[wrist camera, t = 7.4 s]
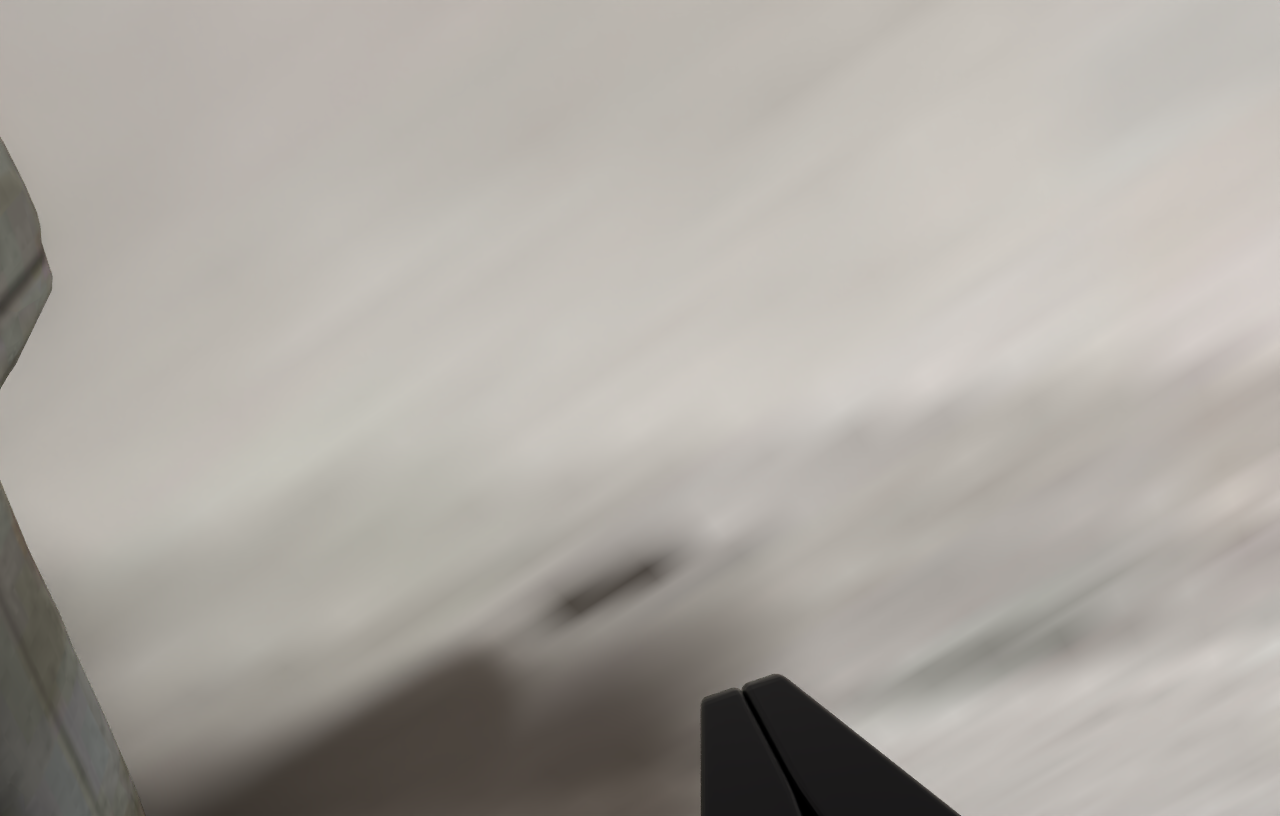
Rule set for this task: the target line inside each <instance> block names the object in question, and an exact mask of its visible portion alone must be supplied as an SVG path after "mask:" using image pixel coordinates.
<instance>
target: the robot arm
mask: <svg viewBox="0 0 1280 816" xmlns="http://www.w3.org/2000/svg"><path fill="white" fill-rule="evenodd" d="M701 816H961V815H959V814H958V813H957V812H956V811H954V810H953V809H952V808H951V807H949V806H948V805H947V804H946V803H944V802H943V801H942V800H940V799H939V798H938V797H937V796H935V795H934V794H933V793H932V792H930V791H929V790H928V789H927V788H925V787H924V786H923V785H921V784H920V783H919V782H918V781H916V780H915V779H914V778H913V777H911V776H910V775H909V774H908V773H906V772H905V771H904V770H903V769H901V768H900V767H899V766H897V765H896V764H895V763H894V762H892V761H891V760H890V759H889V758H887V757H886V756H885V755H884V754H882V753H881V752H880V751H878V750H877V749H876V748H875V747H873V746H872V745H871V744H870V743H868V742H867V741H866V740H865V739H863V738H862V737H861V736H859V735H858V734H857V733H856V732H854V731H853V730H852V729H851V728H849V727H848V726H847V725H846V724H844V723H843V722H842V721H840V720H839V719H838V718H837V717H835V716H834V715H833V714H832V713H830V712H829V711H828V710H827V709H825V708H824V707H823V706H821V705H820V704H819V703H818V702H816V701H815V700H814V699H813V698H811V697H810V696H809V695H808V694H806V693H805V692H804V691H802V690H801V689H800V688H799V687H797V686H796V685H795V684H794V683H792V682H791V681H790V680H789V679H787V678H786V677H784V676H782V675H779V674H772V675H769V676H766V677H763V678H760V679H757V680H754V681H751V682H748V683H746V684H745V685H744V686H743V687H742V691H741V690H740V689H738V688H731V689H728V690H725V691H722V692H719V693H716V694H713V695H710V696H707V697H705V698H704V699H703V700H702V702H701Z"/></svg>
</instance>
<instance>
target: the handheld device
mask: <svg viewBox="0 0 1280 816" xmlns="http://www.w3.org/2000/svg"><path fill="white" fill-rule="evenodd" d="M51 291H52V273H51V270H50V267H49V264H48V261H47V258H46V255H45V252H44V249H43V245H42V243H41V229H40V223H39V219H38V215H37V212H36V209H35V207H34V205H33V202H32V200H31V198H30V195H29V193H28V191H27V188H26V186H25V184H24V182H23V180H22V178H21V176H20V174H19V172H18V170H17V168H16V166H15V164H14V162H13V160H12V158H11V156H10V154H9V152H8V150H7V148H6V146H5V144H4V142H3V141H2V139H1V137H0V388H1V387H2V385H3V383H4V382H5V380H6V378H7V376H8V375H9V373H10V372H11V370H12V369H13V367H14V366H15V365H16V363H17V361H18V358H19V356H20V354H21V352H22V350H23V348H24V346H25V344H26V342H27V340H28V338H29V336H30V334H31V332H32V330H33V328H34V326H35V323H36V321H37V319H38V317H39V315H40V313H41V311H42V309H43V307H44V305H45V303H46V301H47V299H48V297H49V295H50V293H51ZM0 816H145V813H144V810H143V808H142V805H141V802H140V799H139V797H138V794H137V791H136V789H135V786H134V784H133V781H132V779H131V776H130V774H129V771H128V769H127V766H126V764H125V762H124V759H123V757H122V755H121V753H120V750H119V748H118V746H117V743H116V741H115V739H114V736H113V734H112V732H111V729H110V727H109V725H108V722H107V720H106V718H105V716H104V714H103V711H102V709H101V707H100V705H99V702H98V700H97V698H96V696H95V694H94V692H93V689H92V687H91V685H90V683H89V681H88V679H87V677H86V674H85V672H84V670H83V668H82V666H81V664H80V662H79V660H78V657H77V655H76V653H75V651H74V649H73V647H72V644H71V642H70V639H69V636H68V634H67V631H66V629H65V626H64V623H63V621H62V618H61V616H60V613H59V611H58V609H57V607H56V605H55V603H54V601H53V599H52V597H51V595H50V593H49V591H48V589H47V587H46V585H45V583H44V580H43V578H42V576H41V574H40V572H39V570H38V568H37V566H36V564H35V562H34V560H33V558H32V556H31V554H30V552H29V549H28V547H27V544H26V542H25V540H24V537H23V535H22V532H21V530H20V528H19V525H18V523H17V520H16V518H15V516H14V513H13V511H12V508H11V506H10V503H9V501H8V498H7V496H6V494H5V491H4V489H3V486H2V484H1V481H0Z"/></svg>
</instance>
